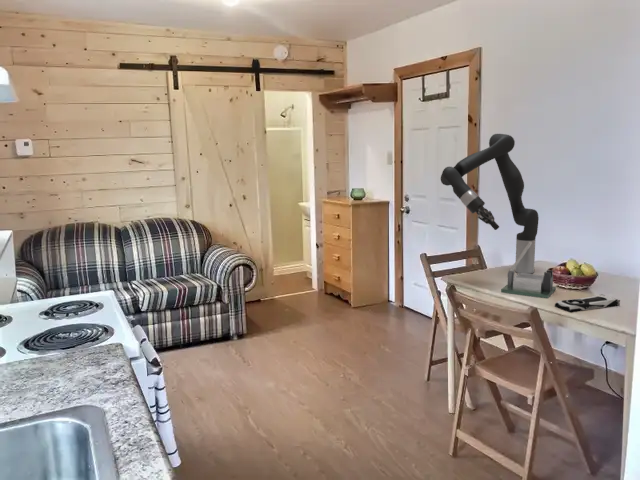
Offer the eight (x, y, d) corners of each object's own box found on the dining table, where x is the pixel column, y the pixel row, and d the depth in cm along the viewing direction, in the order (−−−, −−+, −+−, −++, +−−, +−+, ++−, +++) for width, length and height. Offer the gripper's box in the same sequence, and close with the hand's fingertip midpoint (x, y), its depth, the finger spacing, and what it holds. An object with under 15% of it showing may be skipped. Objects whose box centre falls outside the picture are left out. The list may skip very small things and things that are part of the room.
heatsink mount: (501, 292, 246) (501, 270, 244) (510, 284, 259) (511, 264, 257) (547, 298, 235) (548, 275, 233) (555, 289, 248) (556, 268, 246)
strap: (510, 274, 249) (507, 271, 249) (512, 272, 251) (509, 270, 251) (531, 244, 241) (528, 242, 242) (532, 243, 244) (529, 241, 244)
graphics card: (620, 299, 221) (569, 305, 214) (619, 307, 222) (569, 314, 215) (601, 293, 231) (552, 299, 224) (600, 300, 231) (551, 307, 224)
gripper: (473, 197, 248) (499, 225, 243) (482, 194, 258) (507, 221, 254) (461, 208, 252) (487, 236, 247) (471, 205, 262) (495, 231, 257)
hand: (497, 228), depth 250 cm, fingers closed
